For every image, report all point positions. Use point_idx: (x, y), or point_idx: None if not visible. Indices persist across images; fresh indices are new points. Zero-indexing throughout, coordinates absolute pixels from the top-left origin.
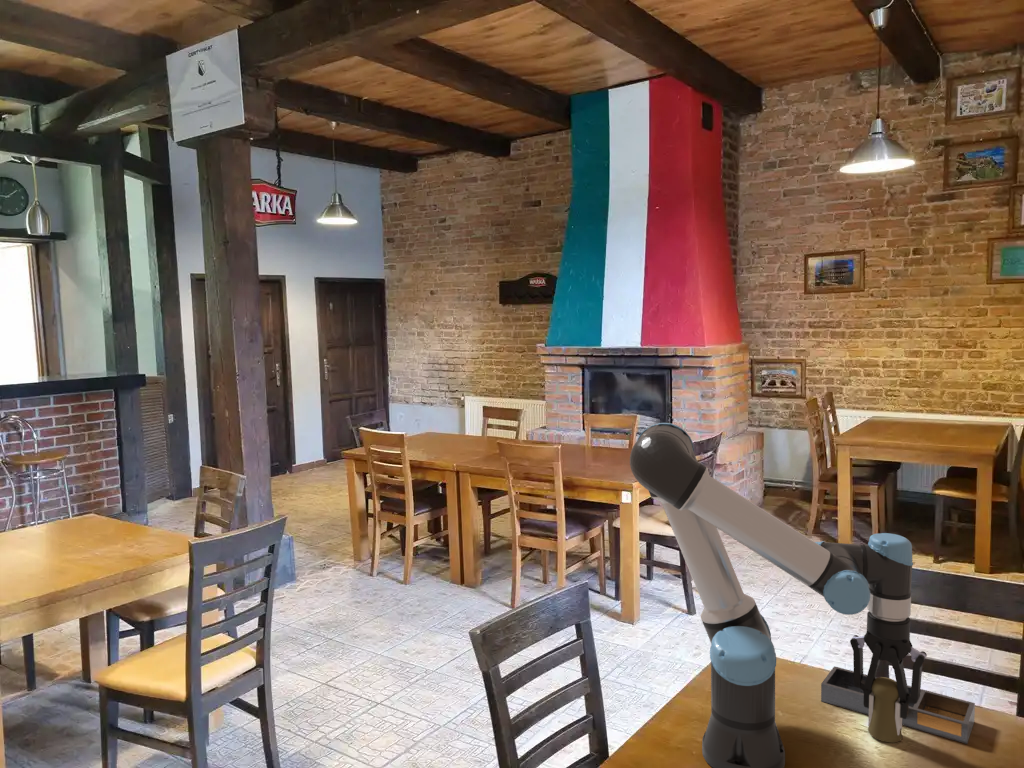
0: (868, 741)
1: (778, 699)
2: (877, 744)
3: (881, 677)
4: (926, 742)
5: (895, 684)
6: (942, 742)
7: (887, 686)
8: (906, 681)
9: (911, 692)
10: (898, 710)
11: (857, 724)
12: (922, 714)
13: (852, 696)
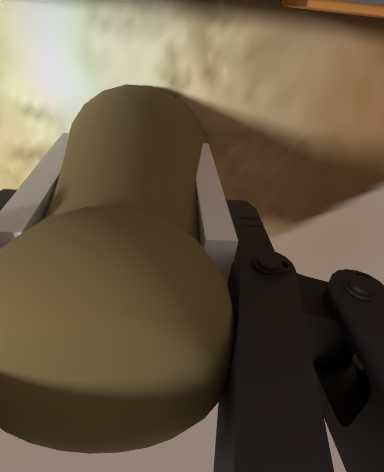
0: None
1: None
2: None
3: (7, 369)
4: (303, 114)
5: (193, 413)
6: (374, 74)
7: (132, 448)
8: (319, 400)
9: (330, 422)
10: None
11: (9, 116)
12: (335, 10)
13: None
